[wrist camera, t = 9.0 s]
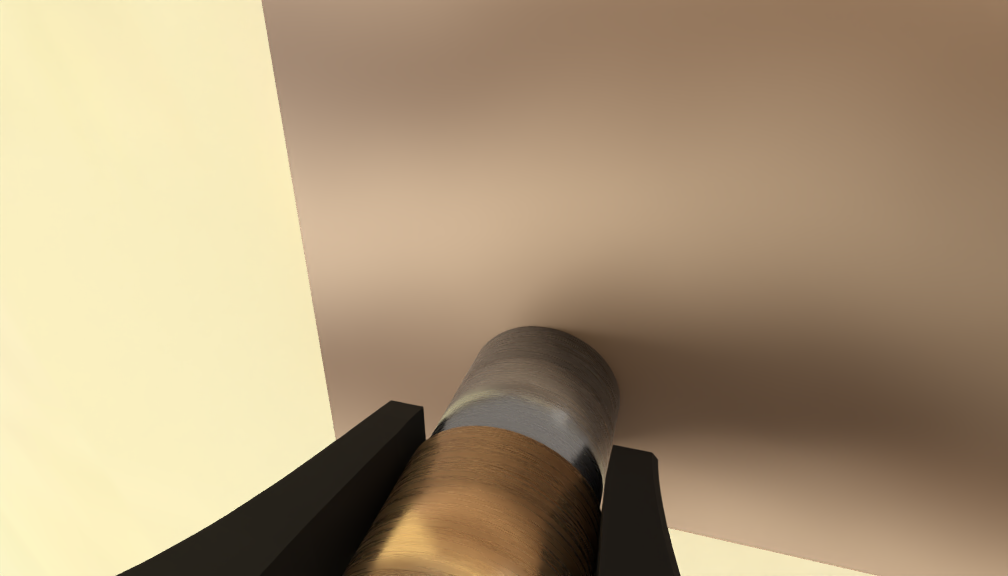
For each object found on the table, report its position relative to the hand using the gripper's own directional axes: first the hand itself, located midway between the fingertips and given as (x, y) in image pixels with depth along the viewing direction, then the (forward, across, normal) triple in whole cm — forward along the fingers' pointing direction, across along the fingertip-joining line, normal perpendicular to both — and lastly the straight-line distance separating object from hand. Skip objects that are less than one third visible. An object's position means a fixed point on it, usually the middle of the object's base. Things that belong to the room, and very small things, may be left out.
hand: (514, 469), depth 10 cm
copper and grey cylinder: (+2, 0, 0) cm, 2 cm away
